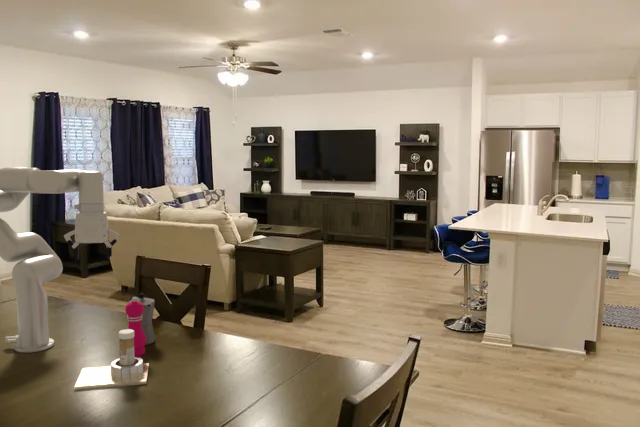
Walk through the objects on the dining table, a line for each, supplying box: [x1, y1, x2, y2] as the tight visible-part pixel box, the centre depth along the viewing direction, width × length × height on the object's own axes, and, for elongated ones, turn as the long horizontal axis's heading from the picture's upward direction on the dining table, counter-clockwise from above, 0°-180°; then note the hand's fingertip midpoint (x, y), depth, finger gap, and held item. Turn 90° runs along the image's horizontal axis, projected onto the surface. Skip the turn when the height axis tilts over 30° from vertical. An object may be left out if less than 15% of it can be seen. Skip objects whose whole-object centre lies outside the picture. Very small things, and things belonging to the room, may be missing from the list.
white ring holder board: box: [73, 356, 150, 391], centre depth 167 cm, size 20×14×4 cm
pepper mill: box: [124, 296, 146, 357], centre depth 186 cm, size 7×7×20 cm
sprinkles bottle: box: [118, 328, 134, 367], centre depth 168 cm, size 5×5×13 cm
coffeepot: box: [128, 292, 156, 346], centre depth 199 cm, size 15×9×18 cm, turn 44°
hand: (92, 259), depth 182 cm, fingers open, 9 cm apart
